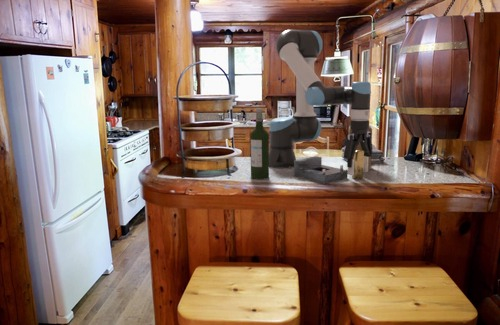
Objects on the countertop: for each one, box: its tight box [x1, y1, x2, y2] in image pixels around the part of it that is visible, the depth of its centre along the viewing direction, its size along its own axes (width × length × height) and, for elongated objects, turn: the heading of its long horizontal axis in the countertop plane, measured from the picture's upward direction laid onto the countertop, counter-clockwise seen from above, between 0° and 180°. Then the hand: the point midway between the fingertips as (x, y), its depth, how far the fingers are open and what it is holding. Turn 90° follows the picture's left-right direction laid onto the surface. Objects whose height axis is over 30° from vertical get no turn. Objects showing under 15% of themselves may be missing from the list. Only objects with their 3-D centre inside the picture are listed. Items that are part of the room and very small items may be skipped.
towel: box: [341, 143, 385, 164], centre depth 204 cm, size 15×18×8 cm
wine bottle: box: [249, 107, 270, 180], centre depth 171 cm, size 8×8×30 cm
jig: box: [293, 155, 348, 184], centre depth 172 cm, size 18×14×7 cm
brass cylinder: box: [351, 150, 364, 181], centre depth 168 cm, size 4×4×12 cm
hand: (357, 173), depth 169 cm, fingers open, 9 cm apart
